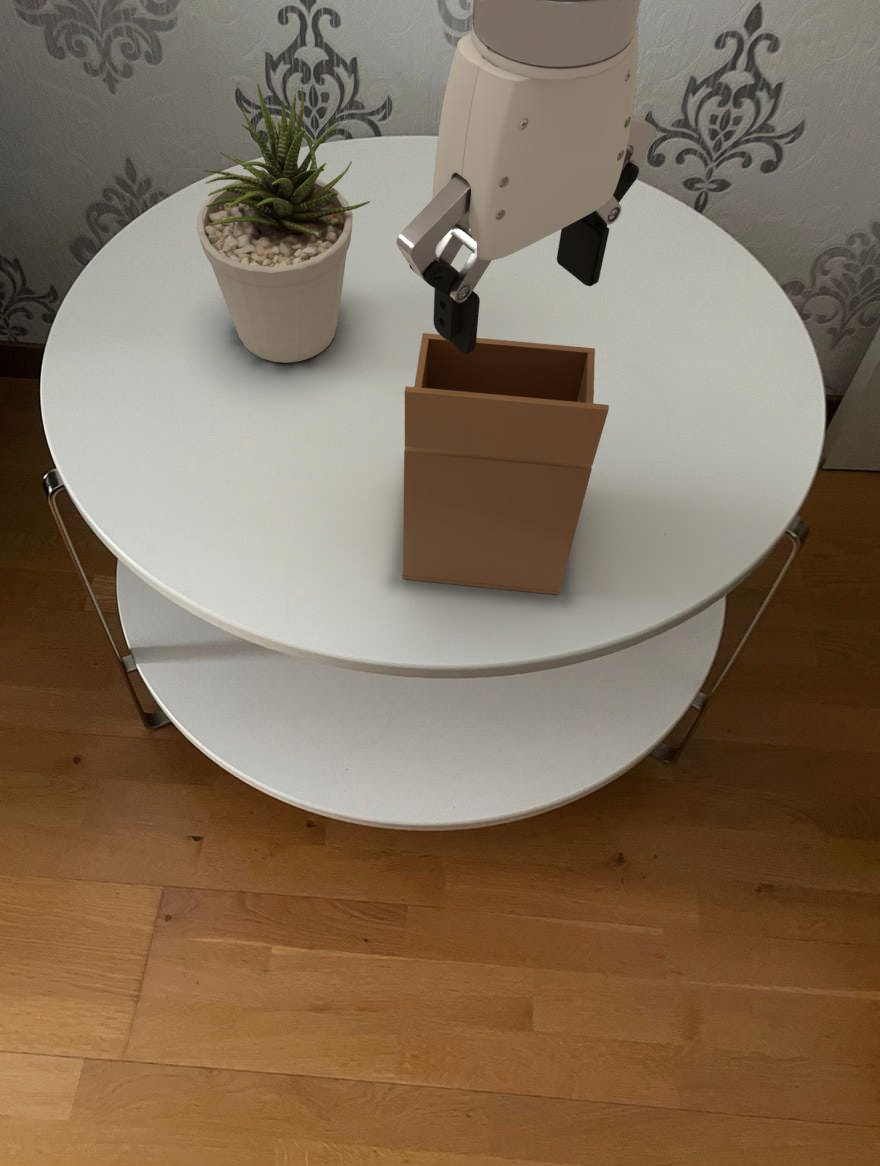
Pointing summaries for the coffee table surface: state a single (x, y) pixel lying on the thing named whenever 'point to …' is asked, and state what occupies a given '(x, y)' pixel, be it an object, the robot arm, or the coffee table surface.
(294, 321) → the potted plant
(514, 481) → the carton
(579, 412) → the carton flap
